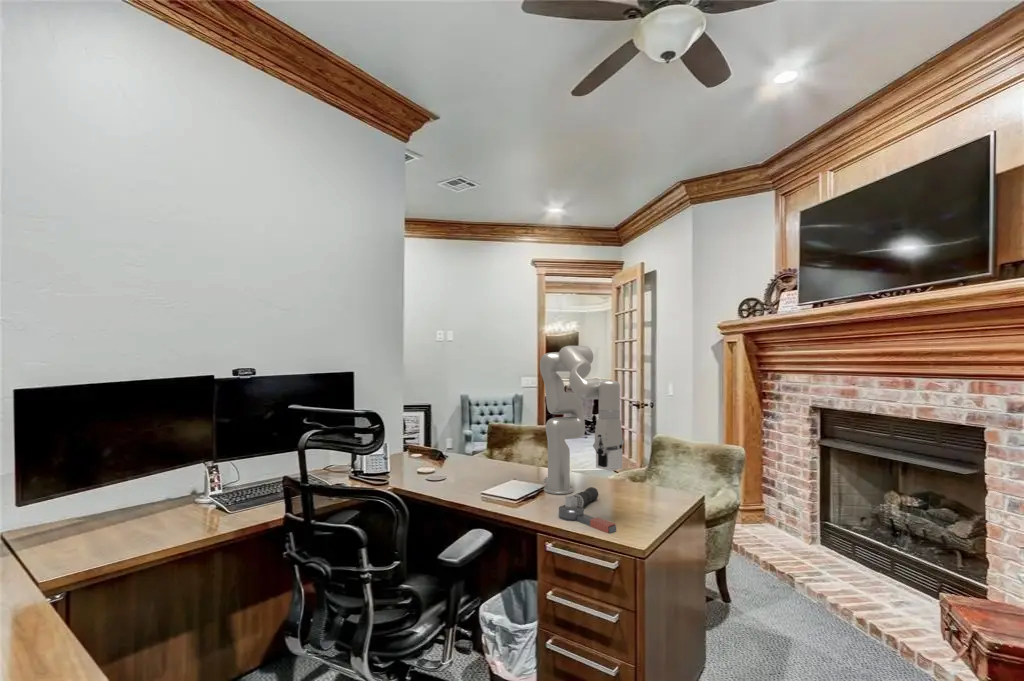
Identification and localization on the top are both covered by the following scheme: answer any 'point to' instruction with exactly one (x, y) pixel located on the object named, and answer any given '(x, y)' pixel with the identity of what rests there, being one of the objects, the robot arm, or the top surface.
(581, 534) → the top surface
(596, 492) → the flashlight
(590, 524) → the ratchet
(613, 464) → the socket
